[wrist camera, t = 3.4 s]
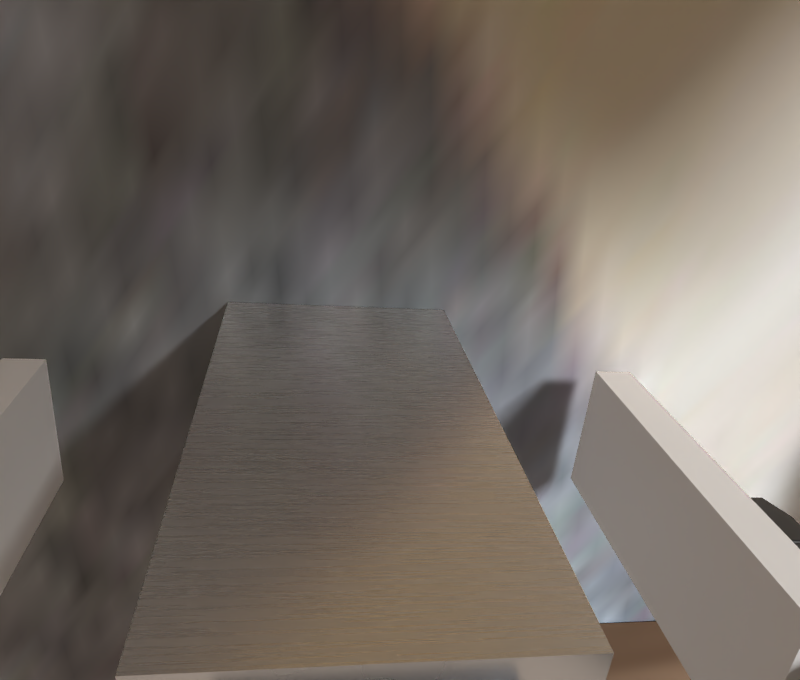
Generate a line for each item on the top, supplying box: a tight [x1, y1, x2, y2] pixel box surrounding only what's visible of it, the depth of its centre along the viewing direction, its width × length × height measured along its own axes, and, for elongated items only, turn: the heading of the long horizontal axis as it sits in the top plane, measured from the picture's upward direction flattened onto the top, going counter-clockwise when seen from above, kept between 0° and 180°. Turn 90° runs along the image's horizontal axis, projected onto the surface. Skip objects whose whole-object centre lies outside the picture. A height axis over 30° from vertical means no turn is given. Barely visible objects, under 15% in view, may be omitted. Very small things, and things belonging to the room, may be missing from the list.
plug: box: [115, 302, 614, 680], centre depth 10 cm, size 4×4×9 cm
